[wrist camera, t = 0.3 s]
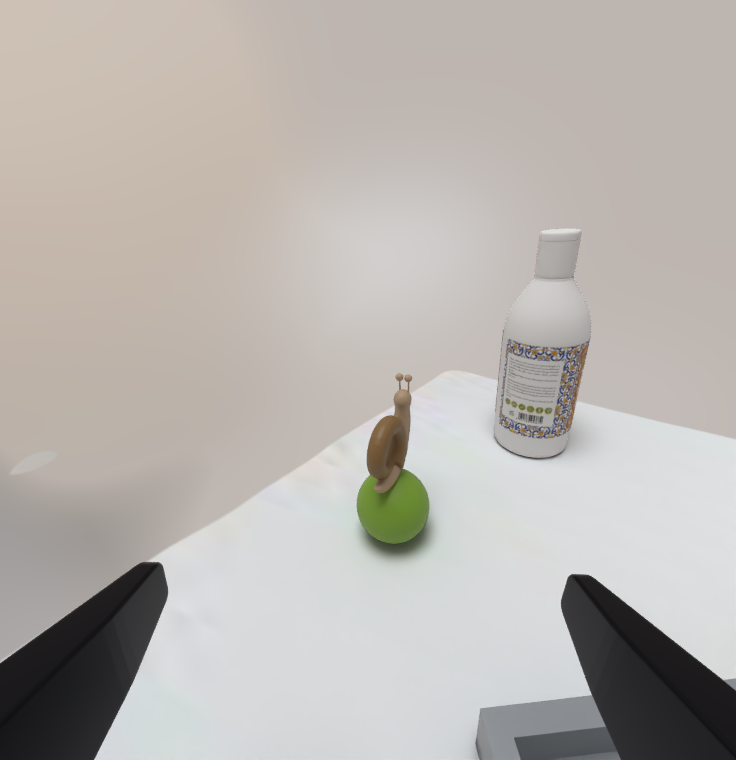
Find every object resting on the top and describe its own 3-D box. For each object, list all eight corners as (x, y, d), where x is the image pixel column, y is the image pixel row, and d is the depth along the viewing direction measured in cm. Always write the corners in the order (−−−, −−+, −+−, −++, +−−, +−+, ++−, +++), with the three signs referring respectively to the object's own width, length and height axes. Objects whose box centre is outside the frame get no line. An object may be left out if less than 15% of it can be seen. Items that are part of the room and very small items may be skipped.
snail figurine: (439, 504, 30) (442, 377, 24) (417, 570, 24) (413, 428, 19) (380, 488, 32) (370, 368, 26) (348, 546, 27) (327, 412, 21)
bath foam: (576, 462, 33) (632, 230, 24) (498, 458, 34) (523, 238, 25) (554, 421, 39) (592, 224, 30) (489, 419, 40) (506, 229, 31)
